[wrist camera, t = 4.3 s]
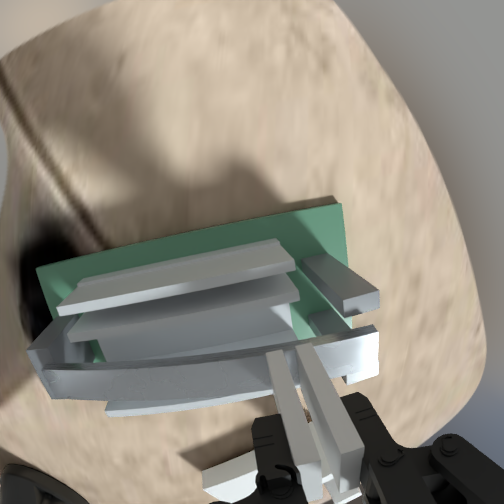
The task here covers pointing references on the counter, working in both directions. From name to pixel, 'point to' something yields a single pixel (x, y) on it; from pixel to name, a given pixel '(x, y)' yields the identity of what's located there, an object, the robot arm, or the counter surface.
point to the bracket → (245, 470)
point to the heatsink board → (203, 297)
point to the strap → (208, 370)
